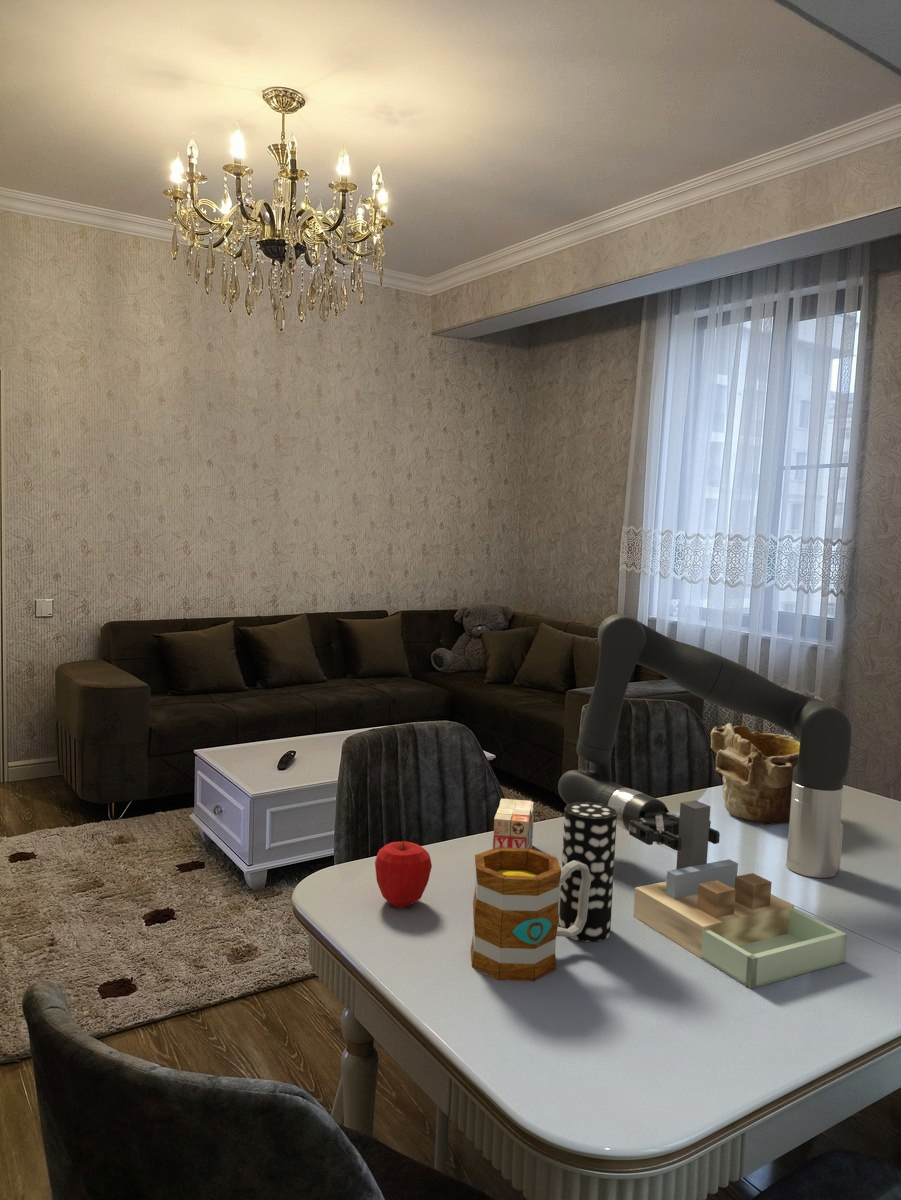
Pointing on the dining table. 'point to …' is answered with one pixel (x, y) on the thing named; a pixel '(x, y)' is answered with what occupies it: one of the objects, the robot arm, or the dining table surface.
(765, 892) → the brown wood cube
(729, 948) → the tray
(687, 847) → the scraper
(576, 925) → the mug
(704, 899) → the brown wooden cube
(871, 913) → the dining table surface
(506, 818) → the stack of blocks
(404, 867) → the apple
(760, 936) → the board
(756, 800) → the ceramic vessel
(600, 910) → the spotted tube
